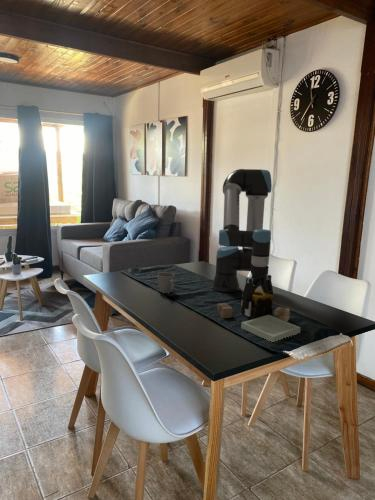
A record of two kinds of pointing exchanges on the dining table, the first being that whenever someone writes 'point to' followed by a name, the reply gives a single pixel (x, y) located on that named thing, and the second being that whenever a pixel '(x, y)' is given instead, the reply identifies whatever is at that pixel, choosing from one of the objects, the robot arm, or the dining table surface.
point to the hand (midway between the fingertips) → (256, 313)
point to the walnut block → (224, 310)
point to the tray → (270, 328)
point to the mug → (166, 282)
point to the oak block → (282, 313)
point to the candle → (260, 304)
